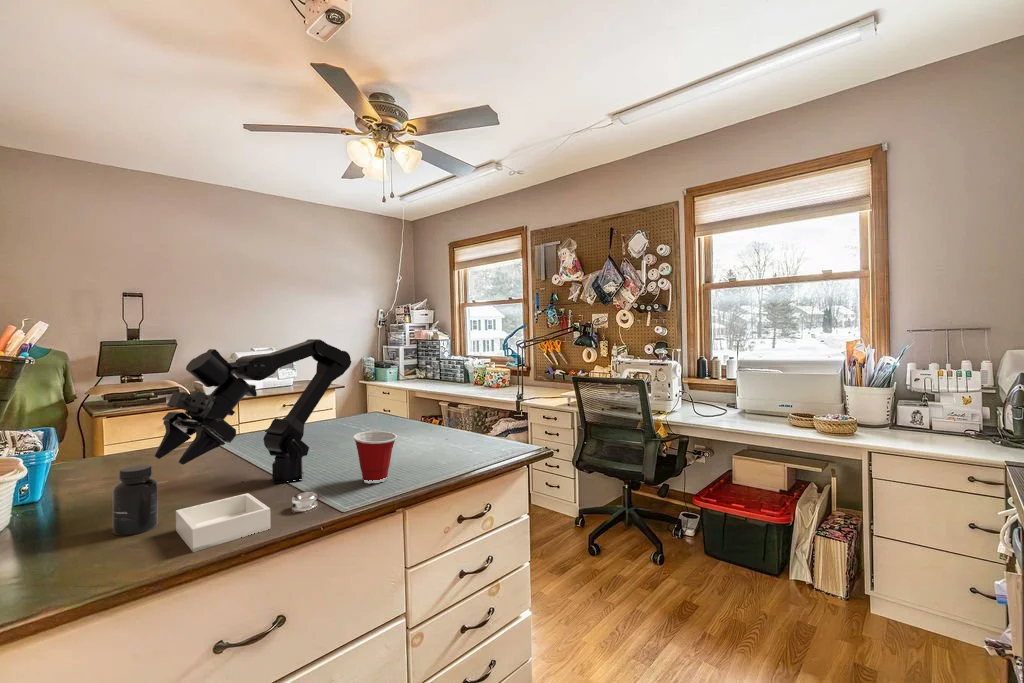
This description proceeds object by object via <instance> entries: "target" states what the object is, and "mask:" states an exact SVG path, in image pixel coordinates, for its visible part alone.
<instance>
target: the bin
mask: <svg viewBox="0 0 1024 683" xmlns="http://www.w3.org/2000/svg"><path fill="white" fill-rule="evenodd" d="M271 528H272V526H271V507H269V506H267V505H266V504H264V503H263V502H262V501H260V500H259V499H257V498H256V497H254V496H253V495H252V494H250V493H243V494H239V495H235V496H230V497H225V498H222V499H218V500H214V501H210V502H205V503H201V504H197V505H193V506H188V507H185V508H180V509H177V510H175V532H176V533H177V534H178V535H179V537H180V538H181V539H182V540H183V542H185V544H186V545H187V546H188V548H189V549H190V550H191V553H195V552H199V551H202V550H205V549H208V548H212V547H216V546H219V545H223V544H225V543H228V542H232V541H235V540H239V539H242V538H245V537H249V536H252V535H255V534H258V532H259V533H261V532H265V531H268V529H269V530H271ZM254 533H255V534H254ZM251 534H252V535H251ZM248 535H249V536H248ZM241 537H242V538H241Z"/></svg>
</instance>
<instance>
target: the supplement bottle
mask: <svg viewBox="0 0 1024 683" xmlns="http://www.w3.org/2000/svg"><path fill="white" fill-rule="evenodd" d="M152 469H153V468H152V465H150V464H136V465H131V466H126V467H123V468H121V469H119V477H118V480H119V481H120V482H119V483H117V484H116V485H115V486H114V487H113V489H112V532H113V534H114V535H116V536H121V537H122V536H123V537H125V536H127V537H128V536H133V535H139V534H142V533H145V532H148V531H150V530H152V529H154V528H155V527H156V526H157V525H158V522H159V483H158V480H156V479H155V478H152V475H153V471H152Z"/></svg>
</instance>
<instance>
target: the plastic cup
mask: <svg viewBox="0 0 1024 683" xmlns="http://www.w3.org/2000/svg"><path fill="white" fill-rule="evenodd" d="M397 438H398V435H397V434H395V433H393V432H389V431H383V430H382V431H381V430H369V431H368V430H367V431H362V432H357V433H355V434H354V435H353V440H354V441H355V446H356V450H357V455H358V461H359V466H360V467H359V468H360V471H361V476H362V480H363V479H364V480H368V481H369V480H372V481H373V480H380V479H383V478H386V477H387V478H388V475H389V469H390V464H391V457H392V452H393V448H394V444H395V442H396V440H397ZM364 480H363V481H364Z"/></svg>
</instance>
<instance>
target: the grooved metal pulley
mask: <svg viewBox="0 0 1024 683" xmlns="http://www.w3.org/2000/svg"><path fill="white" fill-rule="evenodd" d="M317 499H318V494H317V493H316V492H311V491H306V492H300V493H297V494H295V495H294V496H292V498H291V503H292V505H291V511H292V510H294V511H306V510H310V509H312V508H314V507H316V506H317V507H318V501H316V500H317Z"/></svg>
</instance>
